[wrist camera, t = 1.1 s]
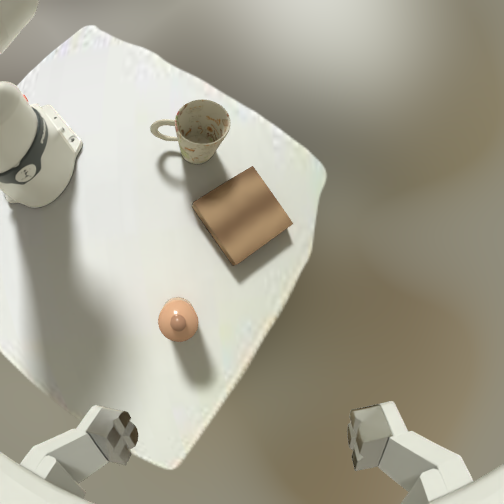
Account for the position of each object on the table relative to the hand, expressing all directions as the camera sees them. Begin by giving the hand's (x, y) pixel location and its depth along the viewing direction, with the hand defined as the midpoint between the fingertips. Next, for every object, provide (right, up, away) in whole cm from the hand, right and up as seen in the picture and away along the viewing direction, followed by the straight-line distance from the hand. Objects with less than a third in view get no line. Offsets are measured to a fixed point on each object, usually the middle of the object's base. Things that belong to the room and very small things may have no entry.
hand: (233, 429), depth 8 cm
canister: (-11, -4, +36) cm, 38 cm away
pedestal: (-1, +12, +40) cm, 42 cm away
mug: (-11, +25, +39) cm, 47 cm away
